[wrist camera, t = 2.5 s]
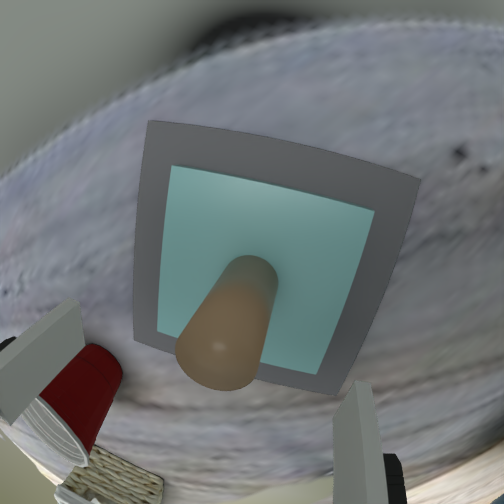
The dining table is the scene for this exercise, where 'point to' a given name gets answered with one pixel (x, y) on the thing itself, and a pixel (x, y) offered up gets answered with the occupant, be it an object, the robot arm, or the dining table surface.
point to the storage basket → (109, 482)
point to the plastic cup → (75, 404)
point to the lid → (253, 274)
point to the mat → (287, 174)
